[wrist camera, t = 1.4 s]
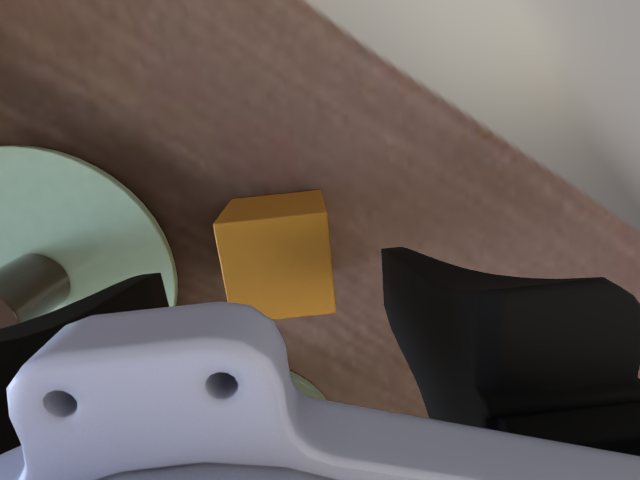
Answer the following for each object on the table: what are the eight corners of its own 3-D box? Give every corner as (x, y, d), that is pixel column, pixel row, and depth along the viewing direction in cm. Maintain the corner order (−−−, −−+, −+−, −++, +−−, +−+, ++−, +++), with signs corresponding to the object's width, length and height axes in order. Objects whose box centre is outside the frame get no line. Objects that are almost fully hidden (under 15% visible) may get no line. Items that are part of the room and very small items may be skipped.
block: (245, 280, 19) (231, 325, 15) (230, 198, 17) (212, 224, 14) (329, 271, 19) (336, 313, 15) (321, 189, 17) (327, 211, 14)
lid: (-24, 387, 20) (-113, 464, 16) (-129, 158, 16) (-283, 177, 12) (203, 362, 20) (176, 431, 16) (150, 130, 16) (97, 138, 12)
